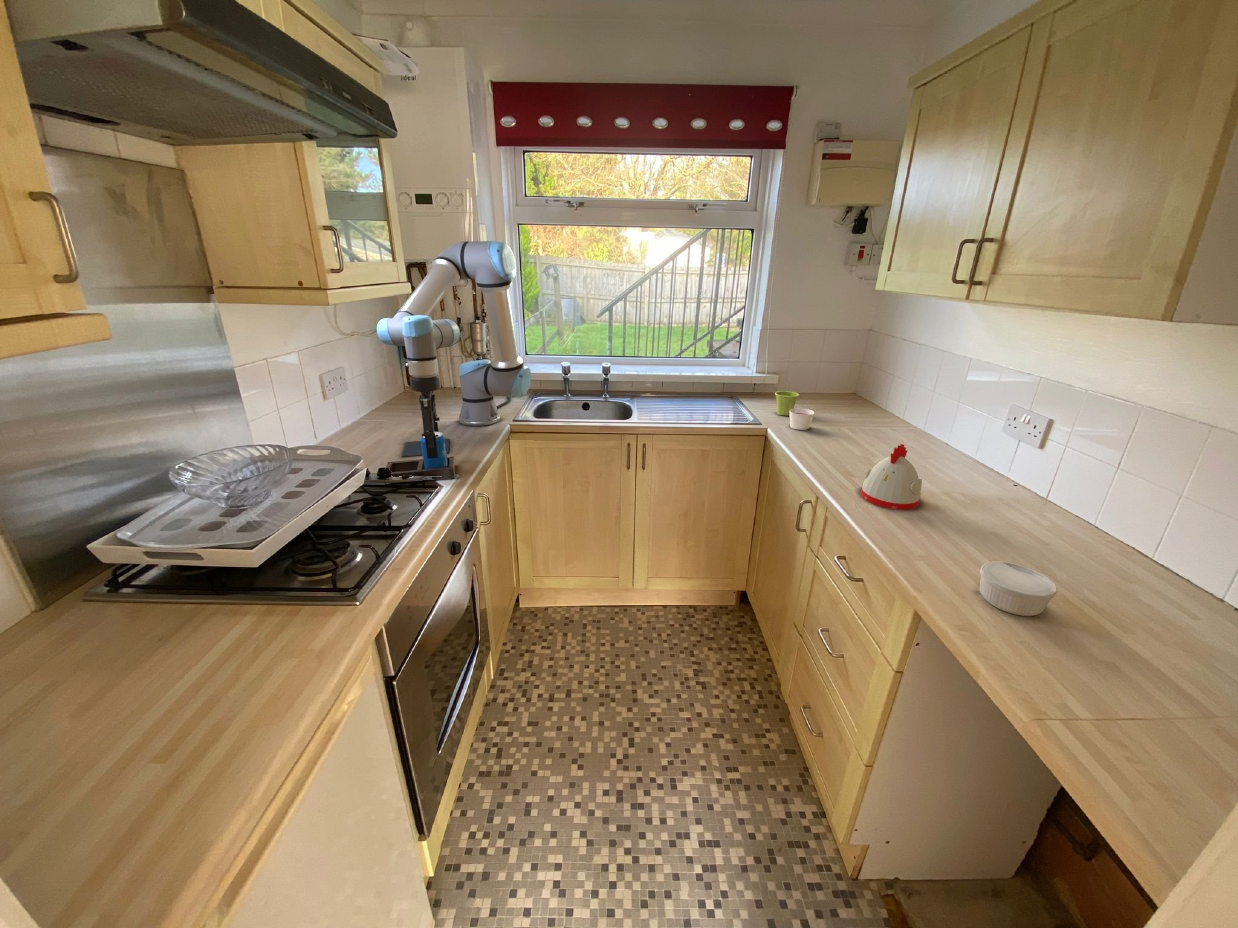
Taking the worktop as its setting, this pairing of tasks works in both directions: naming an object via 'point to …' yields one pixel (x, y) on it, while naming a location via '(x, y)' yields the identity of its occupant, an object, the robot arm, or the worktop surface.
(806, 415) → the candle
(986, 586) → the ramekin
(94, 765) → the worktop surface
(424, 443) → the beverage can
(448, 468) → the can caddy
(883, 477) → the kitchen timer
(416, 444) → the mat
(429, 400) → the robot arm
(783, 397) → the plant pot
